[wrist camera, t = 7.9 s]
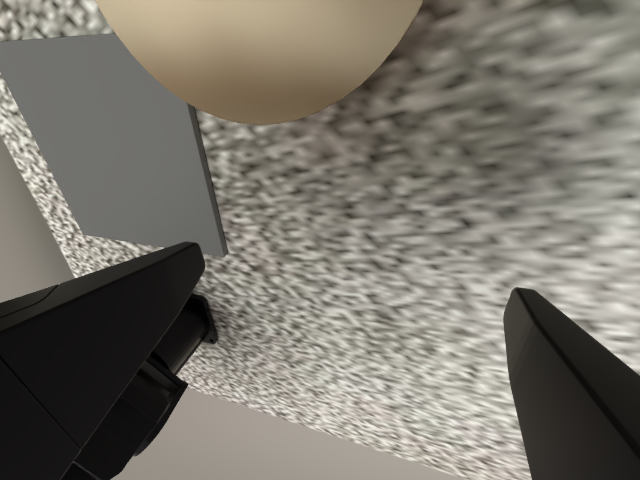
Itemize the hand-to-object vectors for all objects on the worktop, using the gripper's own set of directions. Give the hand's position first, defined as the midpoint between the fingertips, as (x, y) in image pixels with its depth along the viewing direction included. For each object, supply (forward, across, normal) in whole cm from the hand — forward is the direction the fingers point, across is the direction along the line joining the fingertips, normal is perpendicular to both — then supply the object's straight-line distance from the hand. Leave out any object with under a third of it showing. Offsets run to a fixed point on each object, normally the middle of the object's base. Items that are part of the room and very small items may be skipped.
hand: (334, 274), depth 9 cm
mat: (+12, +21, +1) cm, 24 cm away
